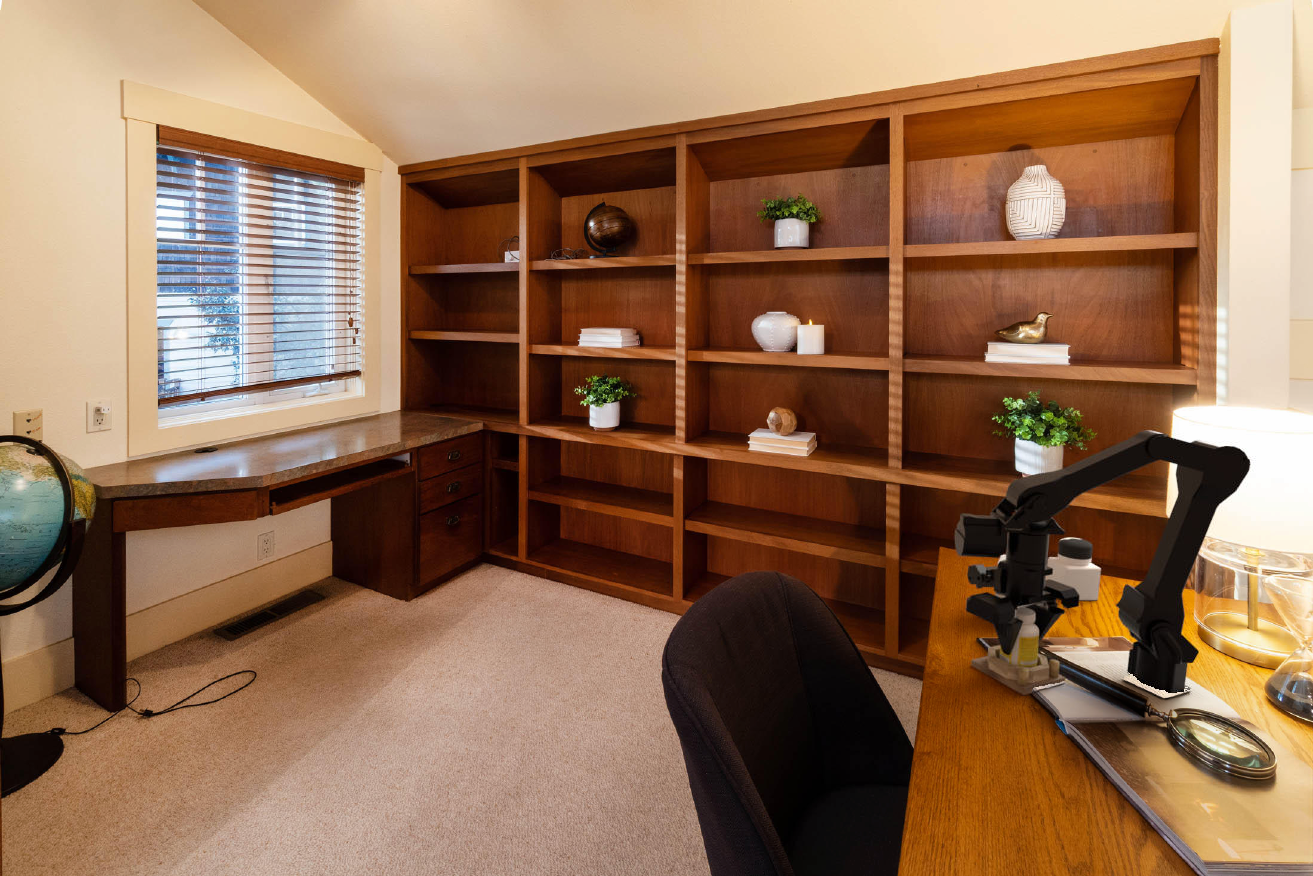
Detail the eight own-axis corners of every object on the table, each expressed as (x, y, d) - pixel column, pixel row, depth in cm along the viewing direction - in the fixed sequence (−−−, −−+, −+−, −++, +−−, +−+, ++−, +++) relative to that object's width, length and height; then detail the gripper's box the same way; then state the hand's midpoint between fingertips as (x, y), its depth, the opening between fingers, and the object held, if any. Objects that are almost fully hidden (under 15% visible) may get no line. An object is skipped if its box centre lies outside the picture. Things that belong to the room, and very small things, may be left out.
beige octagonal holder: (1064, 683, 104) (1066, 663, 104) (1023, 695, 101) (1025, 674, 101) (1010, 655, 114) (1011, 637, 113) (971, 665, 110) (972, 646, 110)
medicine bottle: (1098, 600, 137) (1104, 545, 135) (1064, 600, 137) (1069, 545, 135) (1077, 587, 144) (1082, 535, 142) (1044, 588, 144) (1049, 535, 142)
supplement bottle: (1040, 667, 107) (1044, 610, 106) (1031, 679, 103) (1036, 620, 102) (1004, 656, 111) (1008, 601, 110) (994, 668, 107) (998, 611, 106)
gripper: (1023, 537, 115) (1017, 621, 118) (942, 551, 108) (937, 640, 111) (1085, 556, 105) (1077, 648, 107) (999, 573, 98) (992, 670, 100)
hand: (1019, 650), depth 107 cm, fingers closed on supplement bottle, 5 cm apart
